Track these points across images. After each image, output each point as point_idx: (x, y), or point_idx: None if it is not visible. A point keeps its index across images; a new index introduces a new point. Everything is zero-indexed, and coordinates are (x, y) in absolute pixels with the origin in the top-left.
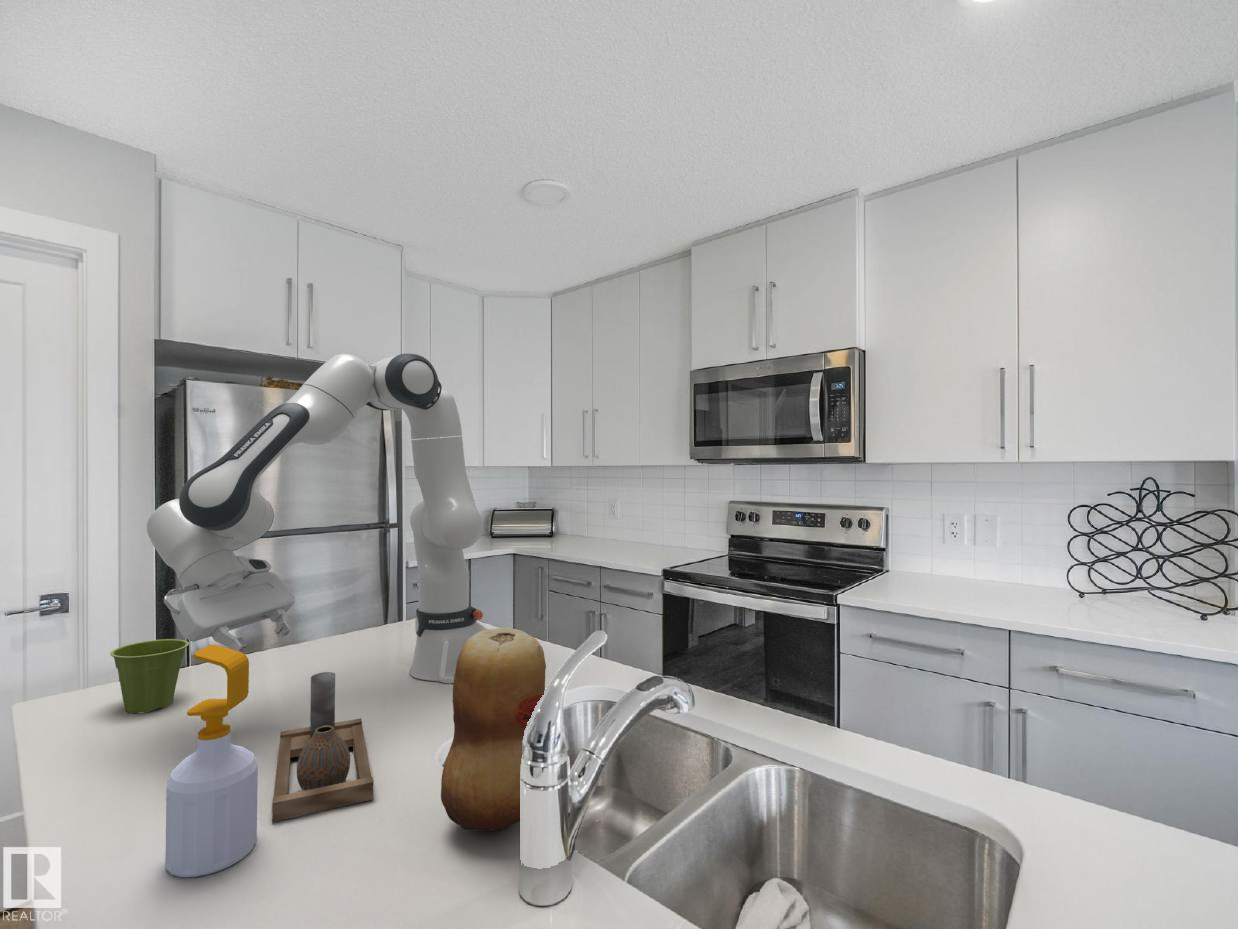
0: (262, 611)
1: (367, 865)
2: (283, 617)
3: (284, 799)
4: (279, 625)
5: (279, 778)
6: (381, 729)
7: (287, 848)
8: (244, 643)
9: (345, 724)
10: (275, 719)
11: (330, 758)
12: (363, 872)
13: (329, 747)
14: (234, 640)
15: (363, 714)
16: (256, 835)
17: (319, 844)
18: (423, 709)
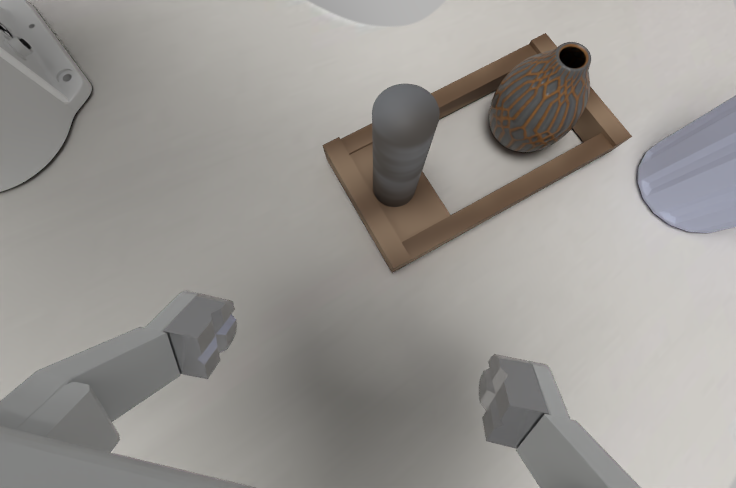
0: (202, 480)
1: (654, 11)
2: (110, 355)
3: (617, 126)
4: (202, 340)
5: (553, 173)
6: (309, 133)
7: (650, 105)
8: (511, 363)
9: (352, 161)
10: (264, 362)
11: (573, 65)
12: (665, 10)
13: (576, 57)
14: (567, 412)
15: (241, 192)
16: (666, 137)
17: (633, 75)
18: (221, 96)
